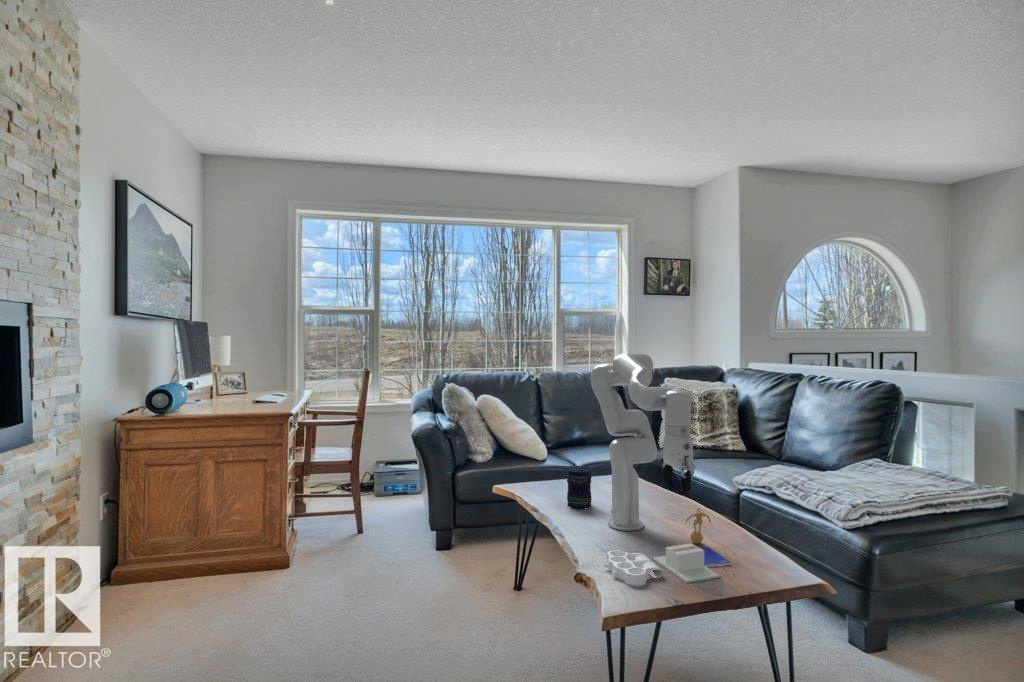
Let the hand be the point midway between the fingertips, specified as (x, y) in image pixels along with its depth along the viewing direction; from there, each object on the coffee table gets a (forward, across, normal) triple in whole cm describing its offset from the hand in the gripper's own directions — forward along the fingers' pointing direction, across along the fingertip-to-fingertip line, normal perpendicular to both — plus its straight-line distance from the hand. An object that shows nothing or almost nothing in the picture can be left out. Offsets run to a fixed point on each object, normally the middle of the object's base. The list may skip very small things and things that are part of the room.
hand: (676, 485), depth 168 cm
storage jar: (+25, +56, +8) cm, 62 cm away
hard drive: (+23, -5, -8) cm, 25 cm away
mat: (+22, -9, +2) cm, 24 cm away
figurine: (+23, +6, -12) cm, 26 cm away
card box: (+21, -9, +2) cm, 23 cm away
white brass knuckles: (+22, -6, +19) cm, 30 cm away
